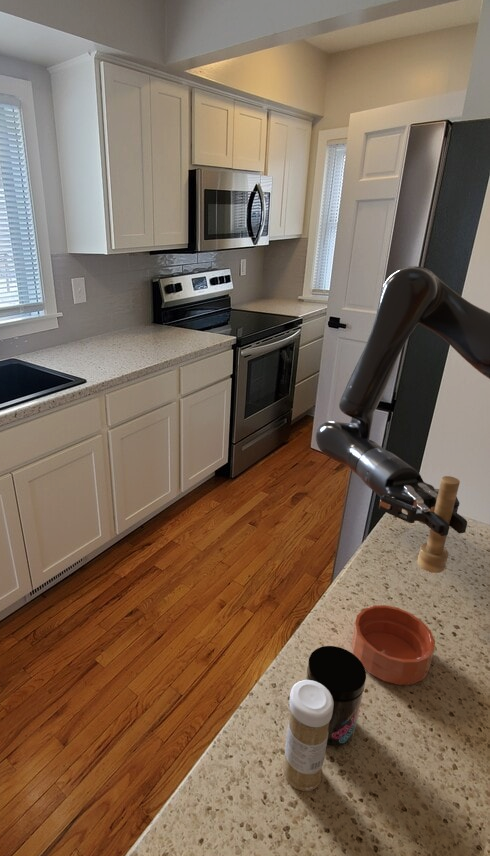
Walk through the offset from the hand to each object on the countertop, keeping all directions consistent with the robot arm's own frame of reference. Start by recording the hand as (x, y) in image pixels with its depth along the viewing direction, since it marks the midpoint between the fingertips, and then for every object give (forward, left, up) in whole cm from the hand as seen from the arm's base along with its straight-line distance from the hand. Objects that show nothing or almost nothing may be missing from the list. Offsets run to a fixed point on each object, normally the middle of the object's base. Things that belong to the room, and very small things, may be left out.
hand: (455, 529), depth 73 cm
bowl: (+12, +6, -17) cm, 22 cm away
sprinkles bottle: (+32, +19, -17) cm, 41 cm away
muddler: (0, -3, -9) cm, 9 cm away
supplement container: (+26, +14, -17) cm, 34 cm away
